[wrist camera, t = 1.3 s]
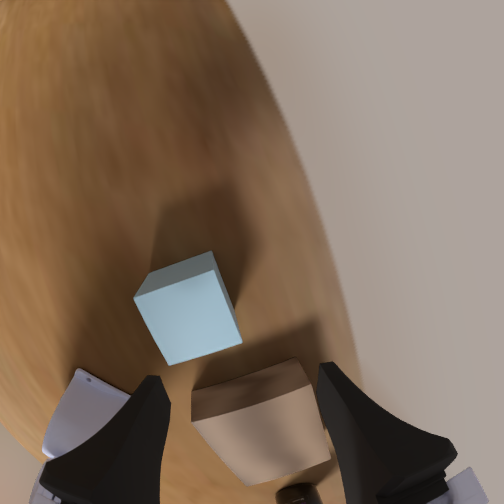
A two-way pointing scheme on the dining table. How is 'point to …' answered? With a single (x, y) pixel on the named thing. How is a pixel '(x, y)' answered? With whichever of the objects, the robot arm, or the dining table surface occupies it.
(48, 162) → the dining table surface
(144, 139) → the dining table surface
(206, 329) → the blue cube
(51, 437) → the robot arm
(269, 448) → the walnut block
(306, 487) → the supplement bottle
